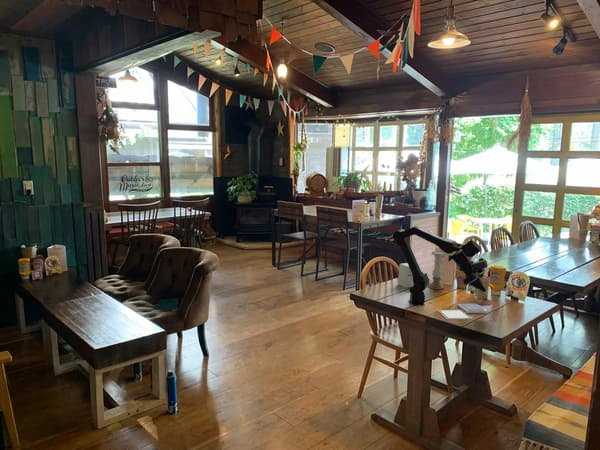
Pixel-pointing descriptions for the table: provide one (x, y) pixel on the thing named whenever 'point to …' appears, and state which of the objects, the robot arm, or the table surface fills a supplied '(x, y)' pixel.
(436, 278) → the candle holder
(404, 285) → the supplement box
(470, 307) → the ink pad
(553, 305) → the table surface
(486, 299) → the wooden stamp
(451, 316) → the marked card
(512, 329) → the table surface
